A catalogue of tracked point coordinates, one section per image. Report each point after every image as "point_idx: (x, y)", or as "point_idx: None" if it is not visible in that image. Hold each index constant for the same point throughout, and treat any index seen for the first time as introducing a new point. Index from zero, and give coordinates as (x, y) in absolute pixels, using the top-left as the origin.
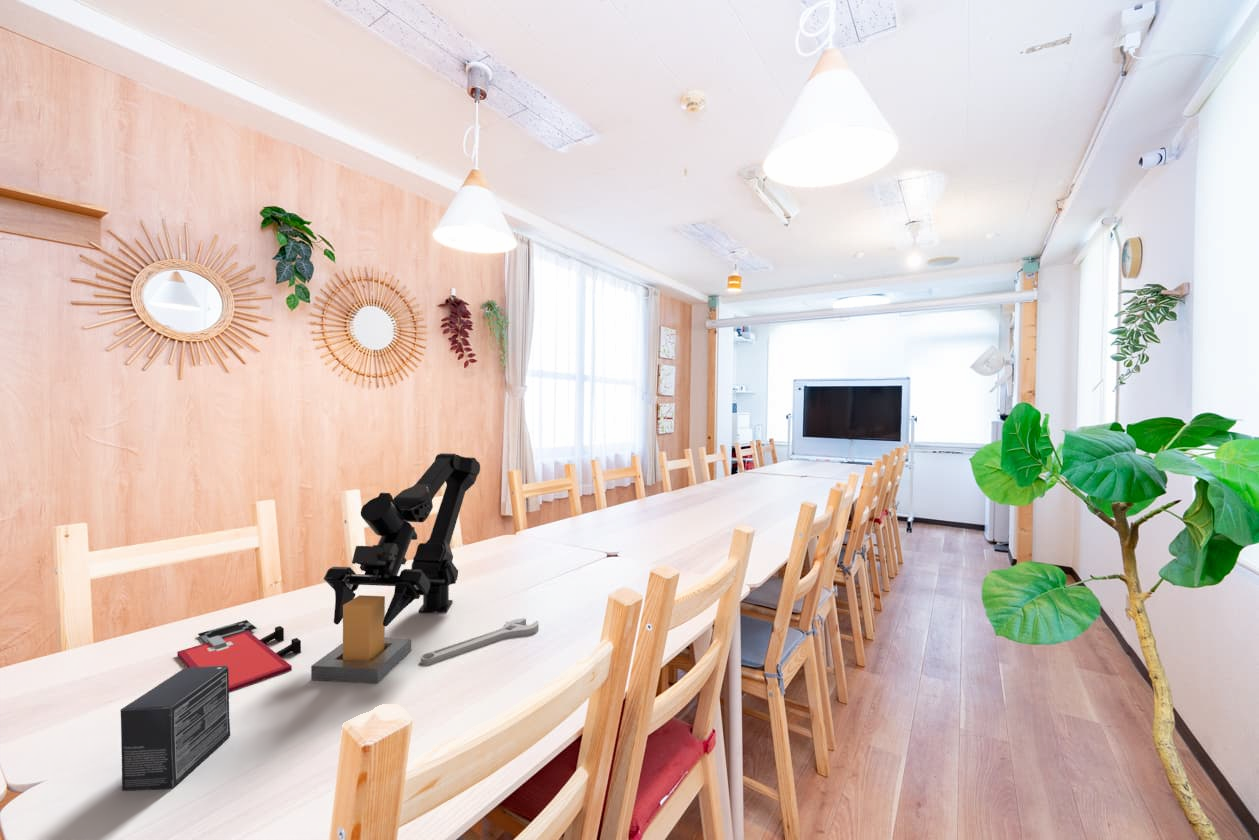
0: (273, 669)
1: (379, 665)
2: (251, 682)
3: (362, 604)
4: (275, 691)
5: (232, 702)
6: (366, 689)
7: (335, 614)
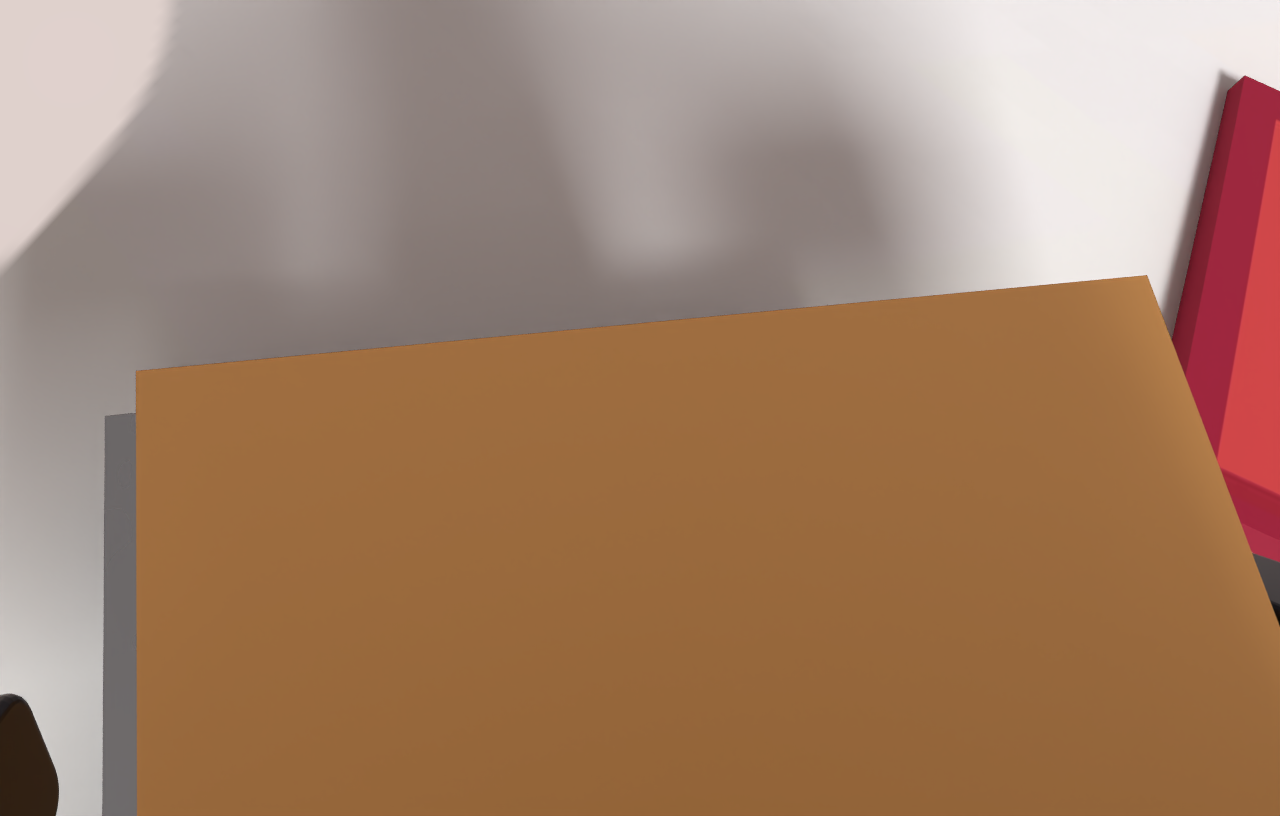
0: (1234, 402)
1: (132, 490)
2: (1200, 251)
3: (568, 470)
4: (935, 203)
5: (1062, 58)
6: (213, 351)
7: (1277, 573)
